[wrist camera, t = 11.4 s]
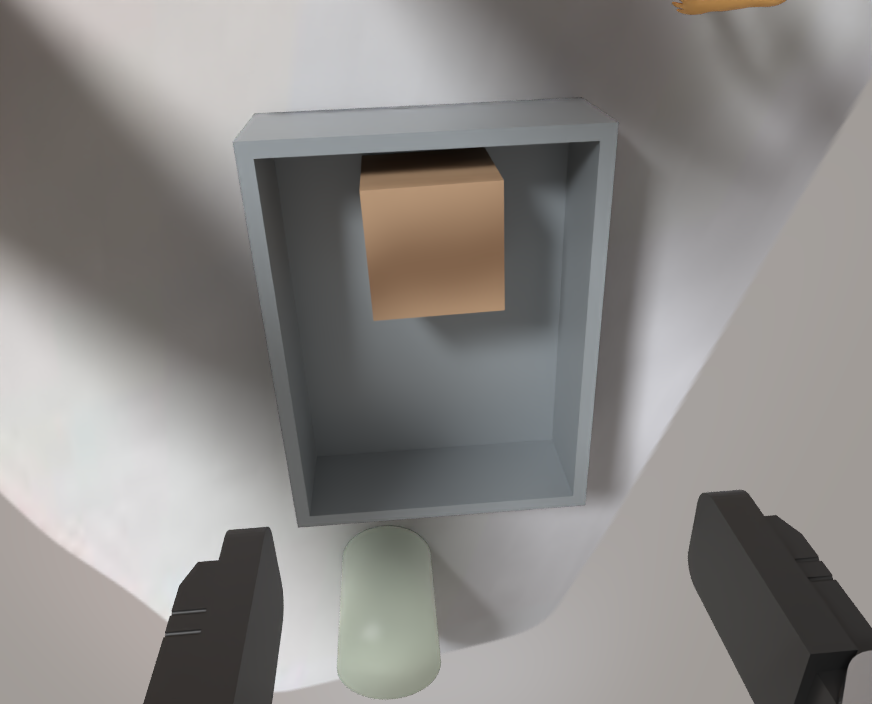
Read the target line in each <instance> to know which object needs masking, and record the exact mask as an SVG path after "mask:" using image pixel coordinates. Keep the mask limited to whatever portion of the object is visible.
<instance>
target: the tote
mask: <svg viewBox="0 0 872 704" xmlns="http://www.w3.org/2000/svg"><path fill="white" fill-rule="evenodd" d="M618 126H619V122H618V121H616V120H615V119H613V118H612V117H610V116H609V115H607V114H606V113H604V112H603V111H601V110H600V109H598V108H597V107H595V106H594V105H592V104H591V103H590V102H588V101H587V100H585V99H584V98H562V99H542V100H521V101H501V102H481V103H460V104H440V105H420V106H399V107H379V108H358V109H338V110H318V111H297V112H277V113H257V114H254V115H253V116H252V118H251V119H250V120H249V121H248V123H247V124H246V125H245V127H244V128H243V129H242V130H241V132H240V133H239V134H238V136H237V137H236V138H235V140H234V141H233V147H234V153H235V158H236V164H237V170H238V176H239V182H240V188H241V194H242V200H243V206H244V212H245V217H246V223H247V229H248V235H249V241H250V247H251V253H252V259H253V265H254V271H255V276H256V282H257V288H258V294H259V300H260V306H261V312H262V318H263V324H264V330H265V335H266V341H267V347H268V353H269V359H270V365H271V371H272V377H273V383H274V389H275V394H276V400H277V406H278V412H279V418H280V424H281V430H282V436H283V442H284V448H285V453H286V459H287V465H288V471H289V477H290V483H291V489H292V495H293V501H294V507H295V512H296V518H297V524H298V527H311V526H324V525H337V524H350V523H363V522H375V521H388V520H401V519H414V518H427V517H440V516H452V515H465V514H478V513H491V512H504V511H517V510H530V509H542V508H555V507H568V506H581V505H585V501H586V490H587V478H588V467H589V456H590V444H591V433H592V422H593V410H594V399H595V388H596V376H597V365H598V353H599V342H600V331H601V319H602V308H603V297H604V285H605V274H606V263H607V251H608V240H609V228H610V217H611V206H612V194H613V183H614V172H615V160H616V149H617V138H618ZM477 147H485V149H486V151H487V152H488V154H489V156H490V157H491V159H492V161H493V163H494V164H495V166H496V168H497V169H498V171H499V173H500V175H501V176H502V178H503V180H504V276H505V310H502V311H489V312H477V313H465V314H453V315H440V316H428V317H416V318H404V319H392V320H379V321H373V312H372V303H371V293H370V284H369V275H368V266H367V256H366V247H365V238H364V228H363V219H362V210H361V201H360V175H361V160H362V156H366V155H380V154H394V153H408V152H421V151H435V150H449V149H463V148H477Z"/></svg>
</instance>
